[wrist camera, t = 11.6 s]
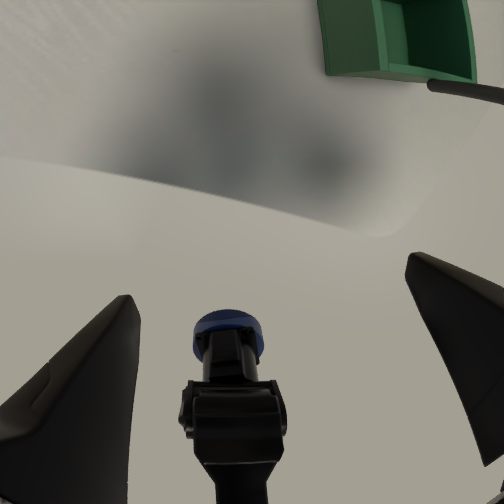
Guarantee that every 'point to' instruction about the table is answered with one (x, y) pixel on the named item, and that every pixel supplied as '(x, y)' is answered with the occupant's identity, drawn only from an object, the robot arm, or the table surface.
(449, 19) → the pail
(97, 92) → the table surface
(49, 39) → the table surface
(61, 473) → the robot arm
